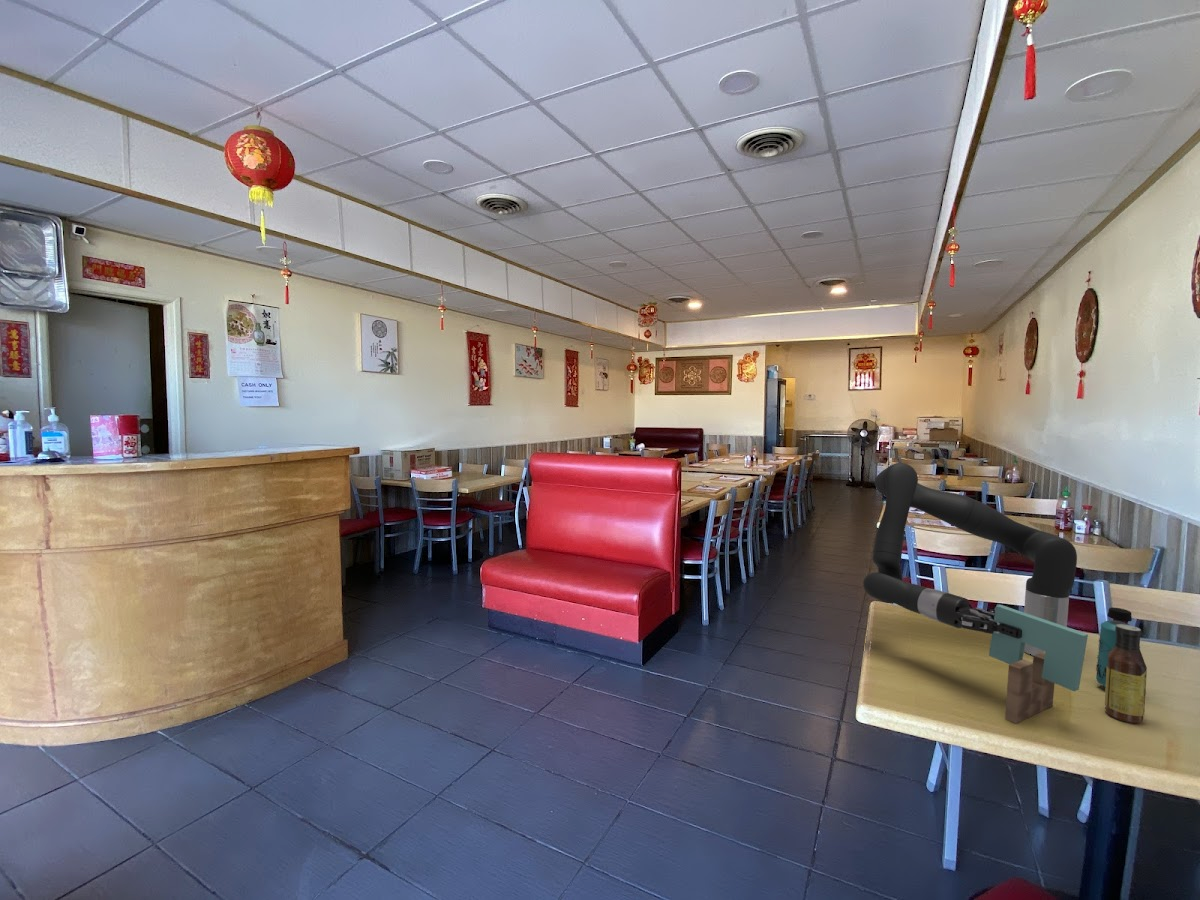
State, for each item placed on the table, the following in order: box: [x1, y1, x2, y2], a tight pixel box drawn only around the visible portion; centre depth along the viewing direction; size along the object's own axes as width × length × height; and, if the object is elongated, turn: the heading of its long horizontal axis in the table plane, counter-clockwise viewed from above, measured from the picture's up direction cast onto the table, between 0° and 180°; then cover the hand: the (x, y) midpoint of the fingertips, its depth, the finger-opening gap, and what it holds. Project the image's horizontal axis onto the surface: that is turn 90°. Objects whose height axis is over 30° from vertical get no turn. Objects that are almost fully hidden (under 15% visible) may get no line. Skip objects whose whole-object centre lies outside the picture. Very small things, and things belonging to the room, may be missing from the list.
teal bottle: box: [1095, 607, 1133, 687], centre depth 128 cm, size 6×7×20 cm
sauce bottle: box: [1104, 624, 1148, 724], centre depth 117 cm, size 7×6×20 cm
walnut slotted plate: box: [1004, 651, 1055, 724], centre depth 118 cm, size 16×2×12 cm, turn 118°
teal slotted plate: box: [988, 604, 1089, 692], centre depth 117 cm, size 16×2×12 cm, turn 28°
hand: (1023, 633), depth 119 cm, fingers closed on teal slotted plate, 2 cm apart
